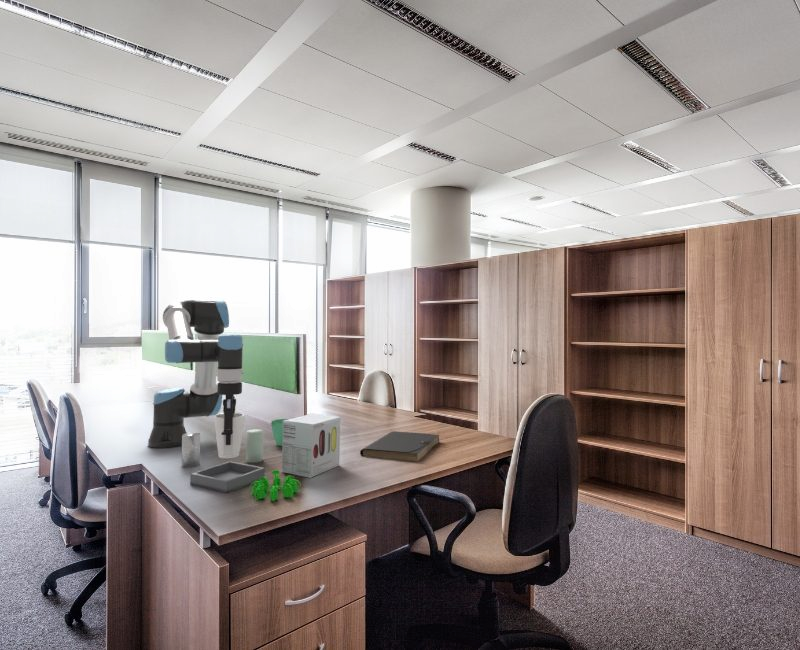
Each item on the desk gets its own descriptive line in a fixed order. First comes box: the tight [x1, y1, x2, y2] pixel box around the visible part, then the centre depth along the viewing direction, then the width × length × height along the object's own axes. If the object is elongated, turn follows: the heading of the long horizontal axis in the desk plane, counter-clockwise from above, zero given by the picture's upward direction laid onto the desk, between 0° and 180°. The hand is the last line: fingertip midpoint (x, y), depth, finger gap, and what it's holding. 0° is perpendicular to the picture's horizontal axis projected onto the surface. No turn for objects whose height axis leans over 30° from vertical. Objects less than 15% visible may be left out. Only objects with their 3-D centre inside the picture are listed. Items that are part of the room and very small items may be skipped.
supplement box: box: [281, 413, 341, 479], centre depth 163 cm, size 17×13×18 cm
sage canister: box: [245, 428, 264, 464], centre depth 173 cm, size 6×6×11 cm
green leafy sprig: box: [249, 469, 302, 503], centre depth 138 cm, size 15×15×7 cm
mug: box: [270, 418, 289, 447], centre depth 197 cm, size 15×10×10 cm
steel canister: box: [181, 432, 201, 468], centre depth 166 cm, size 6×6×11 cm
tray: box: [189, 460, 266, 494], centre depth 149 cm, size 16×16×4 cm
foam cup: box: [213, 412, 246, 459], centre depth 149 cm, size 10×9×13 cm
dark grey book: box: [359, 430, 440, 463], centre depth 193 cm, size 33×4×24 cm
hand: (228, 450), depth 149 cm, fingers closed on foam cup, 9 cm apart
